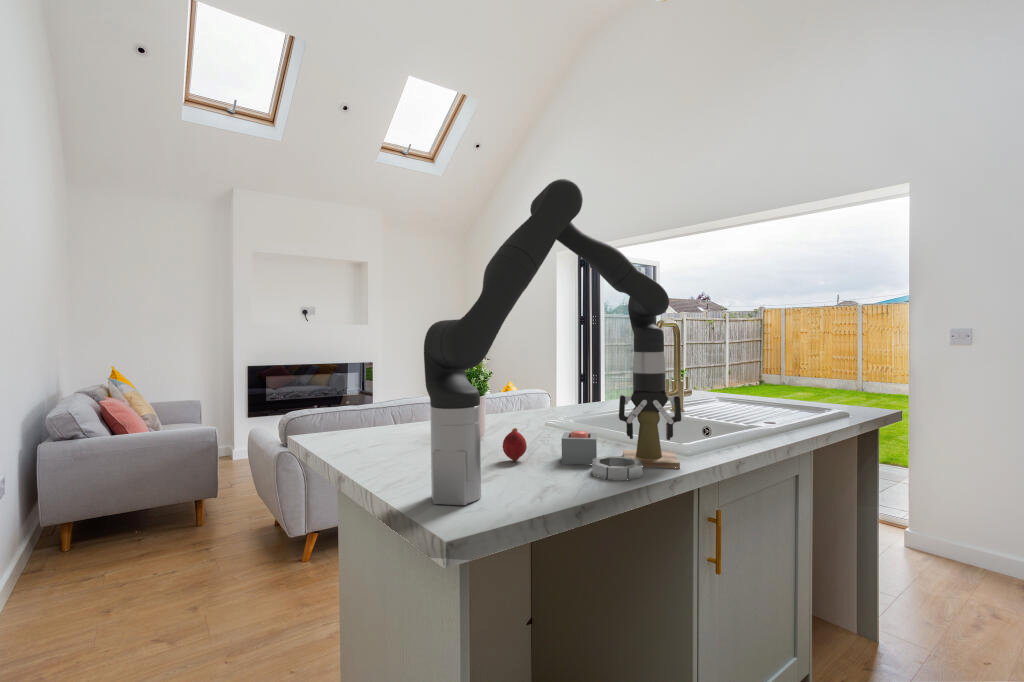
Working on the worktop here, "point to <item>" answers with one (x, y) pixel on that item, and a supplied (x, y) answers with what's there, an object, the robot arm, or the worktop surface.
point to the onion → (514, 445)
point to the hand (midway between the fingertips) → (649, 438)
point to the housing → (579, 449)
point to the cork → (648, 436)
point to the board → (665, 462)
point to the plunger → (579, 434)
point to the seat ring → (617, 467)
